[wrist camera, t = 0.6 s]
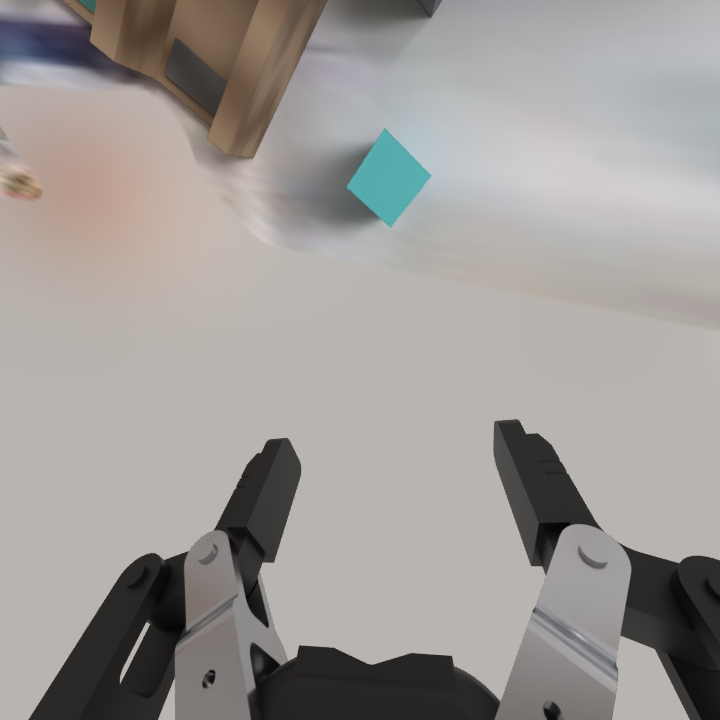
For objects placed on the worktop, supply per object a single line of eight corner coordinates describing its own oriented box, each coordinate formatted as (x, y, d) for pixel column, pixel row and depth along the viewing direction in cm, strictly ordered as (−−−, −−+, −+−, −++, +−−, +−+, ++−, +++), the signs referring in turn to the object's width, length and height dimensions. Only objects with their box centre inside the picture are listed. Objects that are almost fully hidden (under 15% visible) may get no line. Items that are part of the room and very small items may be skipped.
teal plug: (385, 140, 24) (384, 128, 18) (421, 176, 25) (431, 175, 19) (356, 185, 26) (346, 187, 20) (390, 216, 27) (390, 227, 21)
